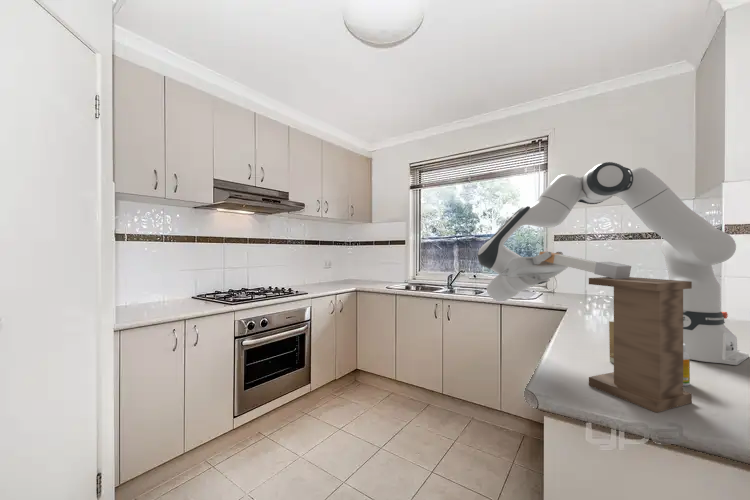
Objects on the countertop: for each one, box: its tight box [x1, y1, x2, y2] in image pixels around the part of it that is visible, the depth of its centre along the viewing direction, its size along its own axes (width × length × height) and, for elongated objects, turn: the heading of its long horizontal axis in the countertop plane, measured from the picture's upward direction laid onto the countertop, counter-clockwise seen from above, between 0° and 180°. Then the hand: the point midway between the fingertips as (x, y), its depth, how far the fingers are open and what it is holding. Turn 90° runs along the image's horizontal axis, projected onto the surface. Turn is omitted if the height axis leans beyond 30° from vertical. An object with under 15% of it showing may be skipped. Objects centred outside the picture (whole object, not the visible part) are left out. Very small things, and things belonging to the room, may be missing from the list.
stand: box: [588, 276, 693, 413], centre depth 73 cm, size 12×14×26 cm
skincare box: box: [608, 320, 614, 364], centre depth 93 cm, size 6×4×12 cm
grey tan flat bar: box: [538, 251, 632, 279], centre depth 87 cm, size 5×23×3 cm, turn 20°
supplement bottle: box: [683, 343, 691, 387], centre depth 80 cm, size 5×5×10 cm
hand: (555, 253), depth 93 cm, fingers closed on grey tan flat bar, 3 cm apart
